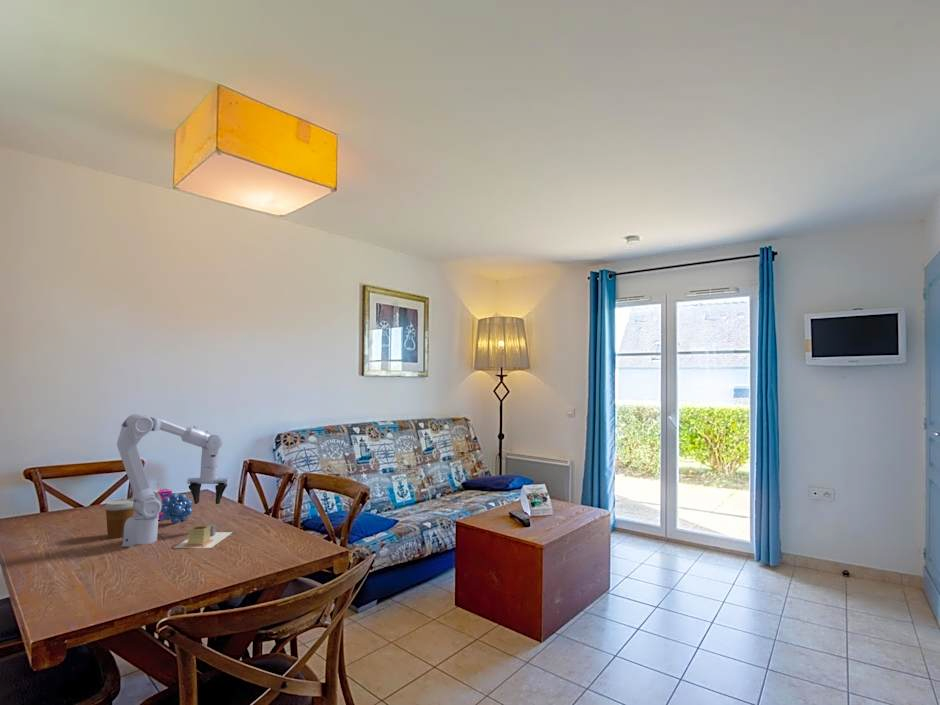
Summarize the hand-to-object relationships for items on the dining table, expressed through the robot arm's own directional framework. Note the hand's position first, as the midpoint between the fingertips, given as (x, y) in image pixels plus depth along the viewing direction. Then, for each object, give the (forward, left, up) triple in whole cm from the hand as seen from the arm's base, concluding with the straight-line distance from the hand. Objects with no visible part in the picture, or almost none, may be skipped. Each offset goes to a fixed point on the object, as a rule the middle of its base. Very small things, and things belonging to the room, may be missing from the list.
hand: (207, 503), depth 188 cm
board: (+5, -12, -10) cm, 17 cm away
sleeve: (+5, -16, -9) cm, 19 cm away
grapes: (-16, +11, -11) cm, 22 cm away
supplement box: (-26, +18, -11) cm, 33 cm away
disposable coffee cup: (-28, -5, -11) cm, 30 cm away
